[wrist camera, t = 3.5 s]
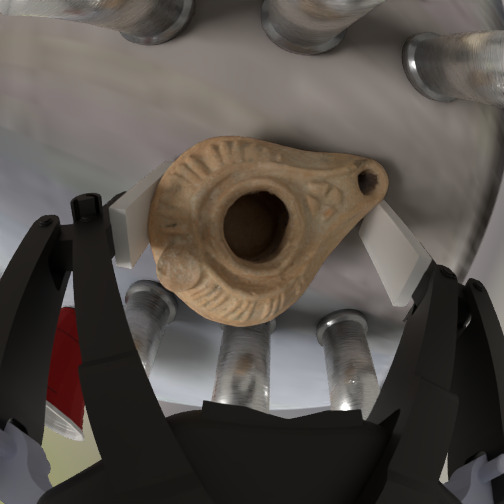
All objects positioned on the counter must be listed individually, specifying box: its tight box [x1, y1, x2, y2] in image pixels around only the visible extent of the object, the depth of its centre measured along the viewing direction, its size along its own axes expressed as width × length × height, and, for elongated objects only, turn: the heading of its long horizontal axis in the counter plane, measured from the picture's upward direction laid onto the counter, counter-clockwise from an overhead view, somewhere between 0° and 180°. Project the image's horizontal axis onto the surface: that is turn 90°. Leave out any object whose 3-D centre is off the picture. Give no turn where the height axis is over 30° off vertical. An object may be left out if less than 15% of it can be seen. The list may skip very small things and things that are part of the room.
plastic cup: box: [44, 307, 85, 441], centre depth 20 cm, size 11×11×12 cm
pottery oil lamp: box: [148, 136, 389, 327], centre depth 13 cm, size 9×12×7 cm
